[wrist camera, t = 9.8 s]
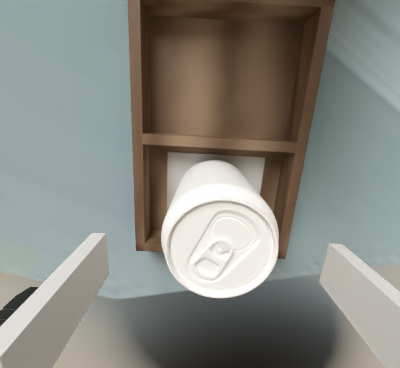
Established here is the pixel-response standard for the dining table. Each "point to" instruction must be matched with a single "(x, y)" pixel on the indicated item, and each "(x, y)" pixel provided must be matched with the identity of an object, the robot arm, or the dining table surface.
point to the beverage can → (219, 232)
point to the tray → (222, 98)
